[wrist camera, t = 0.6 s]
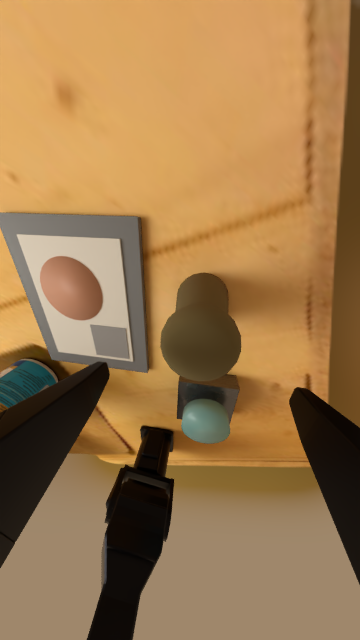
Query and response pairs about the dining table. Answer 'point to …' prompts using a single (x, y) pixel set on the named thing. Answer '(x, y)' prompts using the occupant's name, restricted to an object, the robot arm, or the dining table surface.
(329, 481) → the robot arm
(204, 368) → the brown tapered upright piece
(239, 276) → the dining table surface
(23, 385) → the beverage bottle
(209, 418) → the button
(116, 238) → the drawing board
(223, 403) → the button housing
